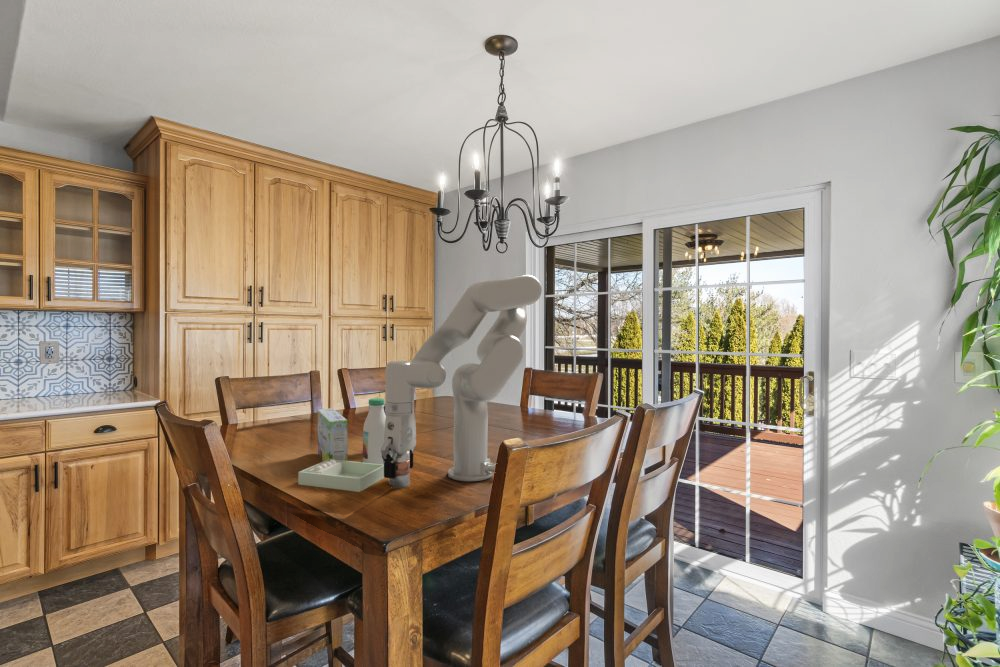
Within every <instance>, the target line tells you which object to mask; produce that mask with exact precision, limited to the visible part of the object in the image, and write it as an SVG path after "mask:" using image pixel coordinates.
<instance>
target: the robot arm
mask: <svg viewBox="0 0 1000 667" xmlns="http://www.w3.org/2000/svg"><path fill="white" fill-rule="evenodd" d="M542 292H543V289H542V283H541V281H539V279H538V278H537V277H535V276H533V275H531V274H523V275H522V274H521V275H517V276H516V275H515V276H509V277H507V278H501V279H500V278H499V279H493V280H485V281H479V282H475V283H473V284H471V285H470V286H469V287H468V288H467V289H466V290H465V292H464V293H463V294H462V296H461V297H460V299H459V300H458V302H457V303H456V304H455V306H454V308H453V309H452V310H451V311H450V313H449V315H448V316H447V317H446V319H445V320H444V321H443V323H442V324H440V326H439V327H438V328H437V329H436V330H435V331H434V332H433V333H432V334H431V335H430V336H429V337H428V338H427V339H426V341H424V342H423V344H422V346H421V347H420V348H419V350H418V351H417V352H416V354H415V355H414V357H413V358H412V360H411V361H410V360H409V361H408V360H392V361H389V362H387V363H386V366H385V392H384V394H385V396H384V398H385V399H384V401H385V403H384V404H385V414H386V419H385V428H384V445H383V446H382V448H381V453H382V458H383V463H384V477H385V478H384V479H389V478H392V479H395V478H396V463H395V459H396V456H397V454H403V453H405V452H407V451H408V450H410V469H413V468H414V452H415V447H416V446H417V427H416V426H417V425H416V416H415V388H416V389H427V390H432V389H436V388H439V387H440V386H442V385H443V384H444V382H445V381H446V379H447V371H446V369H445V366H443V365H442V364H441V363H442V361H443V360H444V359H445V358H446V357H447V356H448V355H449V354H450V353H451V352H452V351H453V350H455V349H457V348H458V347H461V346H463V345H464V344H466V343H468V342H469V340H470V339H471V338H472V337H473V334H474V333H475V332H476V330H477V329H478V327H479V325H480V324H481V323H482V321H483V320H484V318H485V317H486V315H487V314H488V313H491V312H492V313H493V312H499V314H498V316H497V319H495V320H494V322H493V324H492V326H491V327H490V328H489V330H488V331H487V332H486V334H485V335H484V336H483V338H482V340H481V341H480V342H479V344H478V346H477V349H476V355H477V358H478V360H479V361H480V363H479V364H478V363H470V362H467V363H464V364H462V365H460V366H458V368H457V369H456V370H455V371H454V372H453V375H452V380H451V388H452V396H453V397H452V398H453V408H454V409H453V410H454V411H453V417H454V418H453V467H451V468H449V469H448V471H447V476H448V478H450V479H453V480H455V481H458V482H459V481H460V482H479V481H480V482H481V481H486V480H488V479H490V478H491V477H493V473H495V472H494V470H495V465H496V464H497V463H492V462H491V458H490V457H488V429H489V428H488V427H489V425H488V420H489V410H488V409H489V408H488V402H490V401H492V400H495V398H496V397H498V396H499V394H501V392H502V391H503V390H504V388H505V387H506V385H507V384H508V383H509V381H510V379H511V378H512V376H513V375H514V374H515V372H516V371H517V369H518V368H519V367H520V364H521V362H522V360H523V357H524V347H523V343H522V342H521V341H520V337H521V336H522V334H523V332H524V331H525V328H526V326H527V321H528V320H527V319H528V316H527V315H528V314H527V306H530V305H533V304H535V303H536V302H537V301H539V299H540V298H541V295H542ZM393 450H395V451H393ZM390 454H393V456H392V457H391V456H390Z"/></svg>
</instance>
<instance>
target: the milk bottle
mask: <svg viewBox="0 0 1000 667" xmlns="http://www.w3.org/2000/svg"><path fill="white" fill-rule="evenodd" d="M384 404H385V399H384V398H380V397H378V398H377V397H374V398H370V399H368V414H367V416H366V418H365V421H364V424H363V430H362V431H363V432H362V462H363V463H373V464H382V465H384V463H383V458H382V453H381V448H382V446H383V445H384V428H385V419H386V415H385V413H384Z"/></svg>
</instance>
